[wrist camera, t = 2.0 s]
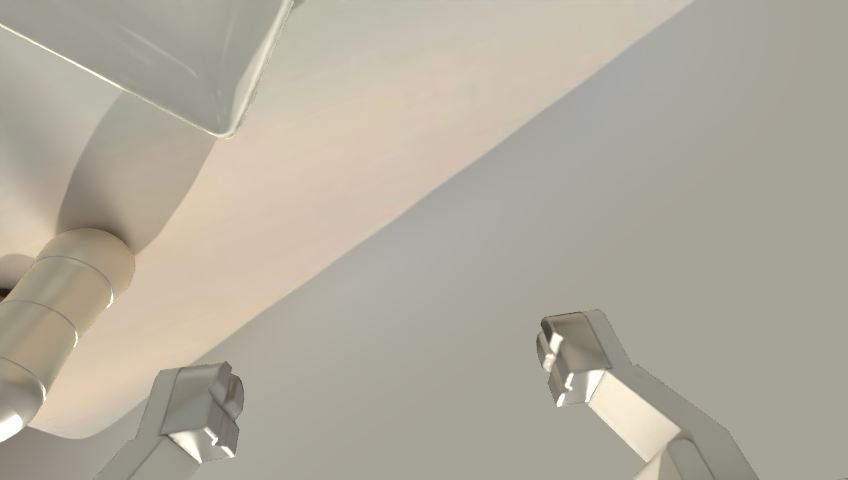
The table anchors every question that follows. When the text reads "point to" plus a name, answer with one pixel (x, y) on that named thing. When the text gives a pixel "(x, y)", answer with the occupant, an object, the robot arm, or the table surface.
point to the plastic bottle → (55, 315)
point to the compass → (3, 294)
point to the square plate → (163, 49)
